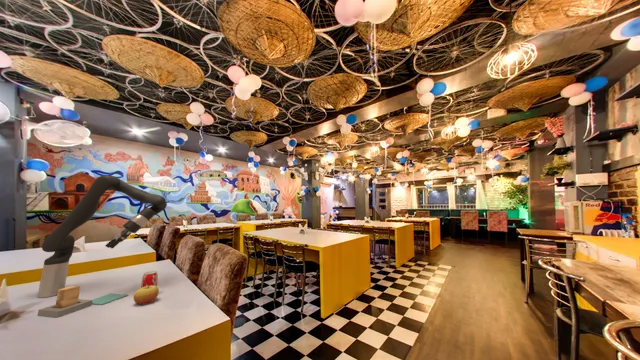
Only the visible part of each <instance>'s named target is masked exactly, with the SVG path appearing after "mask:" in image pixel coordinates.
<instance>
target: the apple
mask: <svg viewBox="0 0 640 360" xmlns="http://www.w3.org/2000/svg"><path fill="white" fill-rule="evenodd" d="M159 292H160V291H159V288H158V285H157V286H145V287H142V288H141V287H139V288H138V289H137V290H136V291H135V292H134V295H133V300H134V302H135V304H137V305H147V304H150V303H151V302H154V301H155V300H156V299H157V297H158V296H159Z"/></svg>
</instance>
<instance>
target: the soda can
mask: <svg viewBox="0 0 640 360" xmlns="http://www.w3.org/2000/svg"><path fill="white" fill-rule="evenodd" d="M158 275H159V274H158V271H157V270H152V271H146V272H144V273H143V275H142V277H141V282H140V288H142V287H145V286H157V287H158V279H159V278H158Z"/></svg>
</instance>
